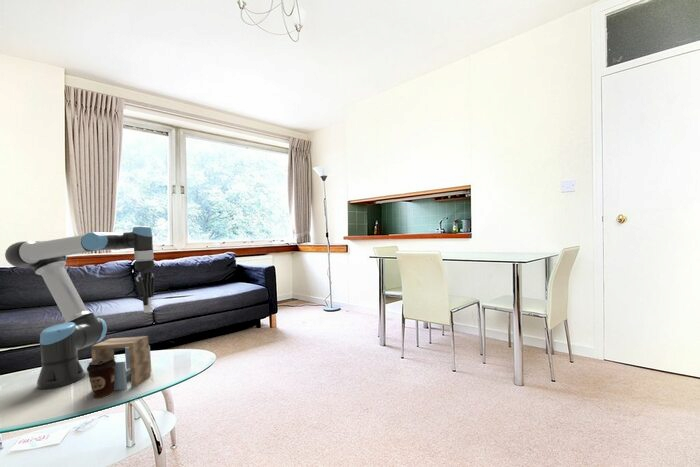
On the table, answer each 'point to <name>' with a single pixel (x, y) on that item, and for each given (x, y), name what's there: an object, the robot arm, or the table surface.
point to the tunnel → (136, 351)
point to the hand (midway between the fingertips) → (147, 312)
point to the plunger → (124, 371)
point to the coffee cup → (102, 377)
